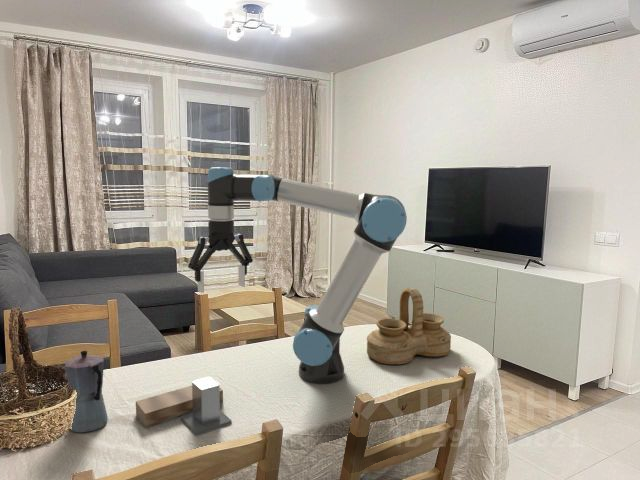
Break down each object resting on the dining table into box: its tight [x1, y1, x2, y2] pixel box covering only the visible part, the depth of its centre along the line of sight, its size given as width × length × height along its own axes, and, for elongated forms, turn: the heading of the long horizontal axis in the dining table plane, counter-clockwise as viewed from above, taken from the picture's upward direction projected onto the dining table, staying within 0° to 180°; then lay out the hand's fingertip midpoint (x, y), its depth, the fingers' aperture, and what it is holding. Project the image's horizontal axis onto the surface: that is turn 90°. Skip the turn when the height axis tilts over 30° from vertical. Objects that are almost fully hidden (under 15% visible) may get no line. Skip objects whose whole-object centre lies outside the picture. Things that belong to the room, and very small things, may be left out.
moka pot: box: [64, 350, 109, 433], centre depth 121 cm, size 10×15×20 cm, turn 54°
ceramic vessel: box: [366, 287, 452, 365], centre depth 172 cm, size 34×18×25 cm, turn 117°
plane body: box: [135, 385, 224, 429], centre depth 131 cm, size 22×8×4 cm, turn 128°
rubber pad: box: [180, 409, 233, 436], centre depth 125 cm, size 10×10×1 cm
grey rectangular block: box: [191, 376, 221, 426], centre depth 124 cm, size 6×5×10 cm
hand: (221, 288), depth 143 cm, fingers open, 13 cm apart
